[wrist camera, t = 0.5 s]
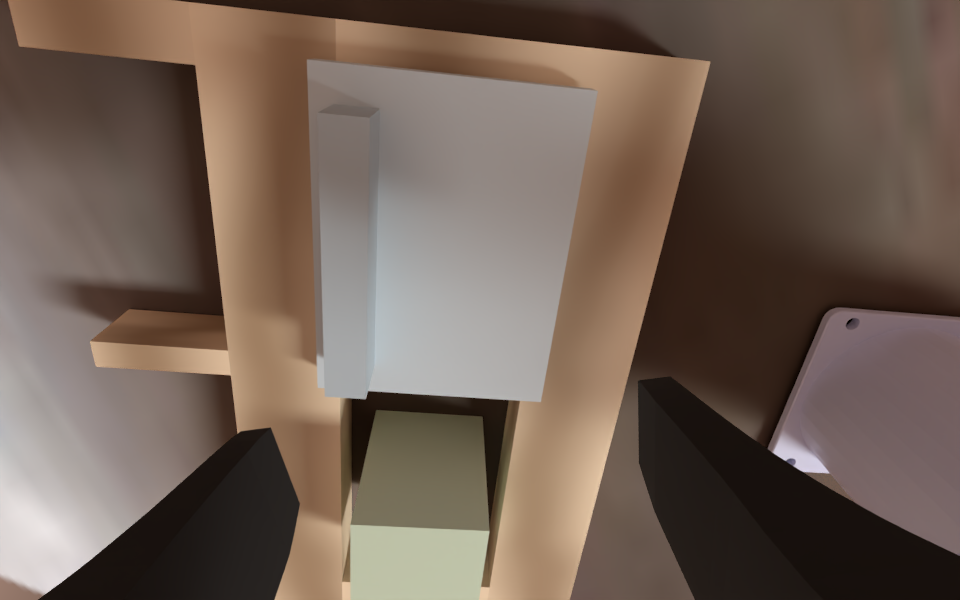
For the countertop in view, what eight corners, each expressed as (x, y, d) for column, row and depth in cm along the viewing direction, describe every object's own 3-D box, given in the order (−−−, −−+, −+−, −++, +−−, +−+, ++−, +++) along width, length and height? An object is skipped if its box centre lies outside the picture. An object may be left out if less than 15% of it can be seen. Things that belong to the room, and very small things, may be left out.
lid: (591, 88, 15) (615, 98, 13) (537, 388, 19) (548, 436, 17) (314, 58, 14) (286, 62, 12) (323, 374, 19) (303, 422, 16)
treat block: (482, 416, 23) (489, 531, 18) (472, 494, 25) (476, 619, 20) (376, 409, 23) (350, 524, 17) (374, 489, 25) (350, 615, 19)
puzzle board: (679, 58, 17) (710, 61, 15) (557, 566, 27) (566, 612, 25) (65, -12, 16) (3, -20, 14) (177, 550, 26) (151, 597, 24)
